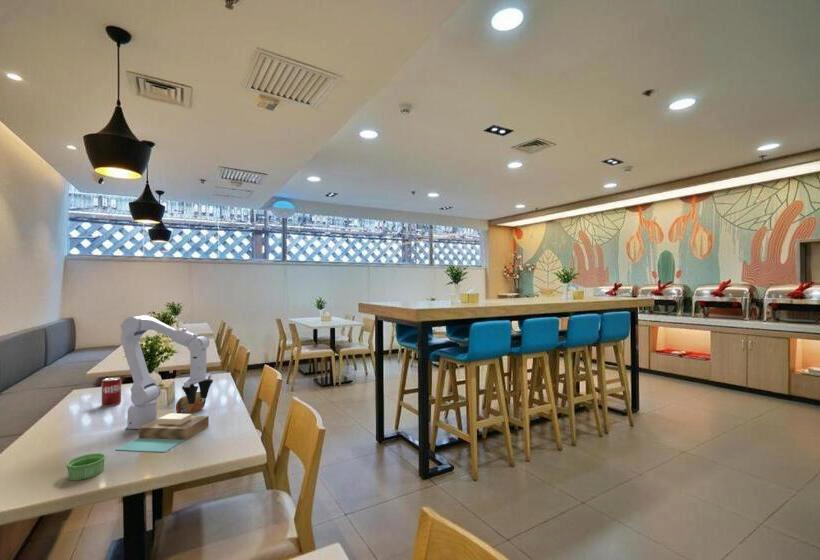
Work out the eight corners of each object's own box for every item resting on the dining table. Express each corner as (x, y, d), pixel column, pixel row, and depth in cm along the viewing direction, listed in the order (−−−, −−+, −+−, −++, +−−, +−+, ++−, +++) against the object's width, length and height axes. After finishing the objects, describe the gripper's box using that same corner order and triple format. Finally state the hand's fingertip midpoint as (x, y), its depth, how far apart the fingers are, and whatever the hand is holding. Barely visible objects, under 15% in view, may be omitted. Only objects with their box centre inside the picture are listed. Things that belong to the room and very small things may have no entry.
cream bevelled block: (158, 423, 146) (158, 418, 146) (169, 418, 152) (169, 413, 152) (181, 424, 145) (181, 419, 145) (191, 419, 151) (191, 413, 151)
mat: (115, 450, 132) (115, 449, 132) (138, 438, 142) (138, 437, 142) (164, 452, 130) (164, 451, 130) (184, 440, 140) (184, 439, 140)
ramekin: (112, 466, 121) (112, 451, 121) (93, 480, 112) (93, 465, 112) (79, 468, 120) (80, 453, 120) (58, 483, 111) (58, 467, 111)
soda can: (123, 403, 183) (124, 378, 183) (105, 407, 177) (105, 381, 177) (117, 401, 187) (117, 376, 187) (98, 405, 181) (99, 379, 181)
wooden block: (138, 438, 142) (138, 427, 142) (166, 424, 156) (166, 414, 156) (185, 440, 141) (185, 429, 141) (208, 425, 155) (208, 415, 155)
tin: (180, 419, 162) (180, 399, 162) (174, 418, 163) (174, 398, 163) (206, 408, 177) (206, 389, 177) (200, 407, 178) (200, 389, 178)
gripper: (196, 371, 148) (195, 406, 148) (218, 363, 163) (217, 395, 163) (178, 370, 149) (178, 406, 149) (202, 362, 163) (202, 395, 163)
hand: (197, 400), depth 156 cm, fingers open, 7 cm apart
